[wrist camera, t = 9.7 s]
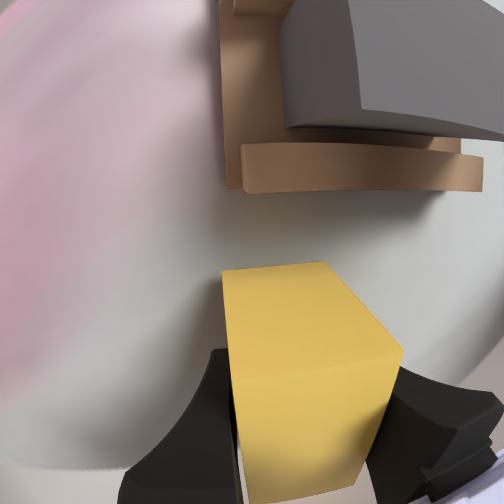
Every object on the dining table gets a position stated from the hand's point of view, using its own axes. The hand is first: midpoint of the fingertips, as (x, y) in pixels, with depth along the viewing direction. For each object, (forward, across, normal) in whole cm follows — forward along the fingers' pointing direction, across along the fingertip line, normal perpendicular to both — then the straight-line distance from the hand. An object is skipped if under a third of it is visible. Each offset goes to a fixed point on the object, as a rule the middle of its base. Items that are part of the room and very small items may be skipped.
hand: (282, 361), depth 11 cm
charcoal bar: (+2, -4, -11) cm, 12 cm away
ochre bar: (+1, 0, 0) cm, 1 cm away
